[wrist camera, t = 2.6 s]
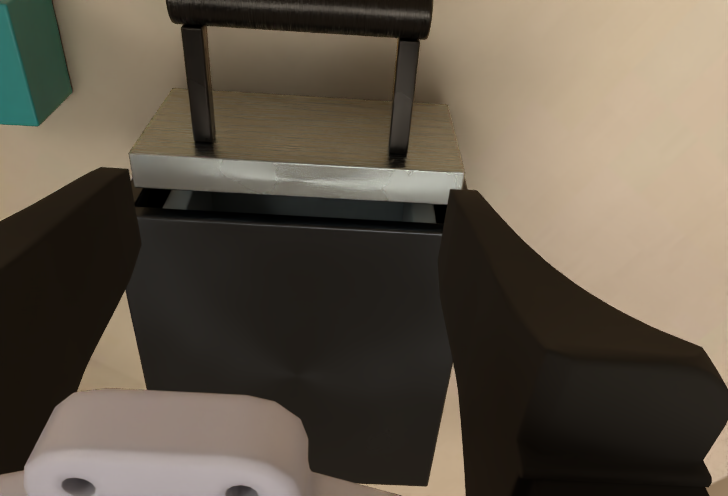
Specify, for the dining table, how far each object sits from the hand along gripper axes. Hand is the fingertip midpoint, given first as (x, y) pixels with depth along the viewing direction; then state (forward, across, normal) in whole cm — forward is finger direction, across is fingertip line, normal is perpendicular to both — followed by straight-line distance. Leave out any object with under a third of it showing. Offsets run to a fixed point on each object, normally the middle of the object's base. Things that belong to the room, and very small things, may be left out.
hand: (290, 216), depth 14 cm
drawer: (+10, 0, +5) cm, 11 cm away
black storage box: (+10, 0, +9) cm, 14 cm away
